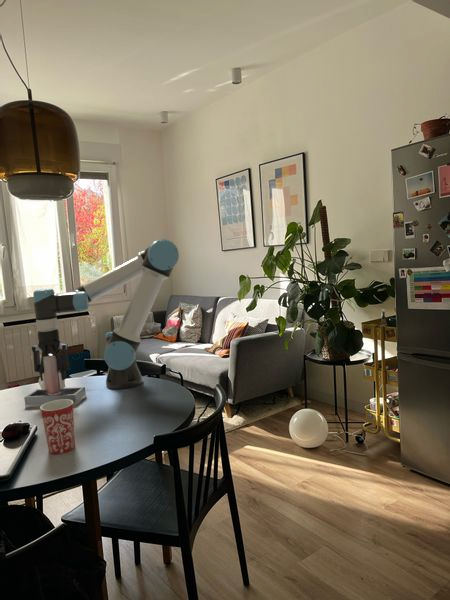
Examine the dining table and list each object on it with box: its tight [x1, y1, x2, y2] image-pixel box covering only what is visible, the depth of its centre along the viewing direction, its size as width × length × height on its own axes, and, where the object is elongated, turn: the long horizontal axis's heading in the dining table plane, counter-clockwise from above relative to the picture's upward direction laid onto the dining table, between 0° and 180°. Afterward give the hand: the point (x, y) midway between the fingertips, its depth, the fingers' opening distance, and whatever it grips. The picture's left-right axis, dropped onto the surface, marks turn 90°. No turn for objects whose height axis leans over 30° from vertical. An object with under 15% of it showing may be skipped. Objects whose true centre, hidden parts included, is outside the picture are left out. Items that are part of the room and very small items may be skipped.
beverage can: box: [43, 354, 63, 395], centre depth 175 cm, size 6×6×15 cm
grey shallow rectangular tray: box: [24, 386, 87, 409], centre depth 176 cm, size 20×10×4 cm, turn 85°
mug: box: [39, 399, 76, 455], centre depth 133 cm, size 13×9×14 cm
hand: (54, 388), depth 175 cm, fingers closed on beverage can, 6 cm apart
